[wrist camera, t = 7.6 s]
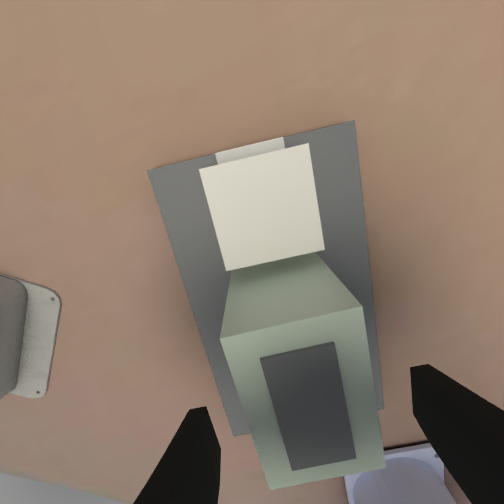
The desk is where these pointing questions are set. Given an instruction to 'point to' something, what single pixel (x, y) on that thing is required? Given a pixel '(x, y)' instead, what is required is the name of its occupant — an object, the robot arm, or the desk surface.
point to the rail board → (210, 259)
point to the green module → (302, 371)
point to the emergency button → (27, 336)
